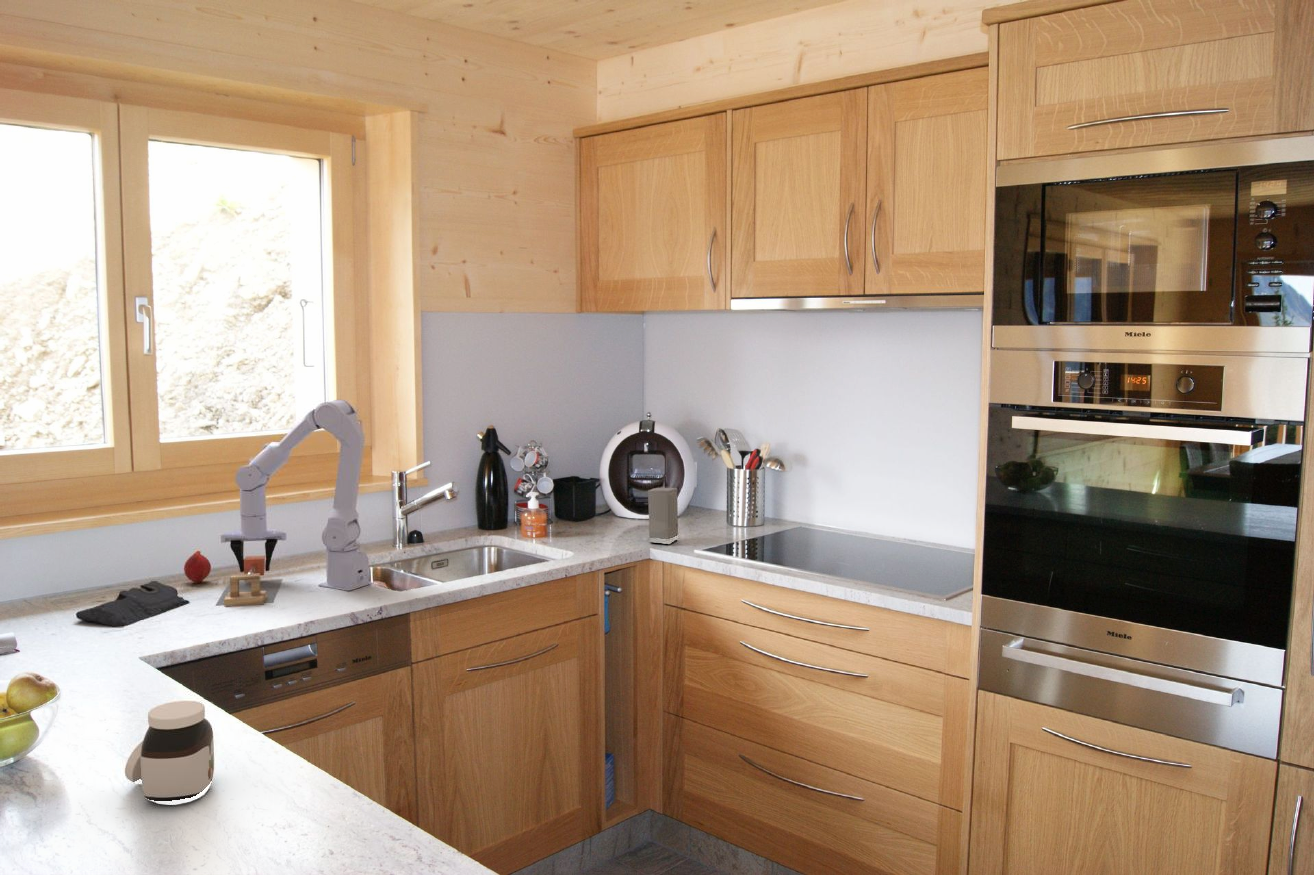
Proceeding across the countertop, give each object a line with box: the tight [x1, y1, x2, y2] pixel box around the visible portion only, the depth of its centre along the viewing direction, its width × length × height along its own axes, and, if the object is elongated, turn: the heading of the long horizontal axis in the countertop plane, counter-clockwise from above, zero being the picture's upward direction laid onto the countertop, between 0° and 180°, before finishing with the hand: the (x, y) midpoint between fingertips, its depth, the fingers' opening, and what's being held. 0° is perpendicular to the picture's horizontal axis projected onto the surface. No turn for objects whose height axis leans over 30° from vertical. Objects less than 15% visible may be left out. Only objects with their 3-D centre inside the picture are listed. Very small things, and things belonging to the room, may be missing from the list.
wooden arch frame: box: [223, 573, 266, 607], centre depth 232 cm, size 6×8×6 cm
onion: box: [183, 549, 212, 584], centre depth 248 cm, size 6×6×8 cm
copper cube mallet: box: [243, 555, 267, 583], centre depth 243 cm, size 16×4×4 cm, turn 15°
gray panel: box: [215, 578, 283, 606], centre depth 241 cm, size 22×12×1 cm, turn 15°
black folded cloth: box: [75, 580, 191, 627], centre depth 224 cm, size 15×22×5 cm
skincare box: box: [647, 487, 679, 539], centre depth 302 cm, size 8×7×16 cm
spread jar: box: [124, 700, 215, 801], centre depth 139 cm, size 12×11×12 cm
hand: (255, 570), depth 249 cm, fingers open, 5 cm apart
